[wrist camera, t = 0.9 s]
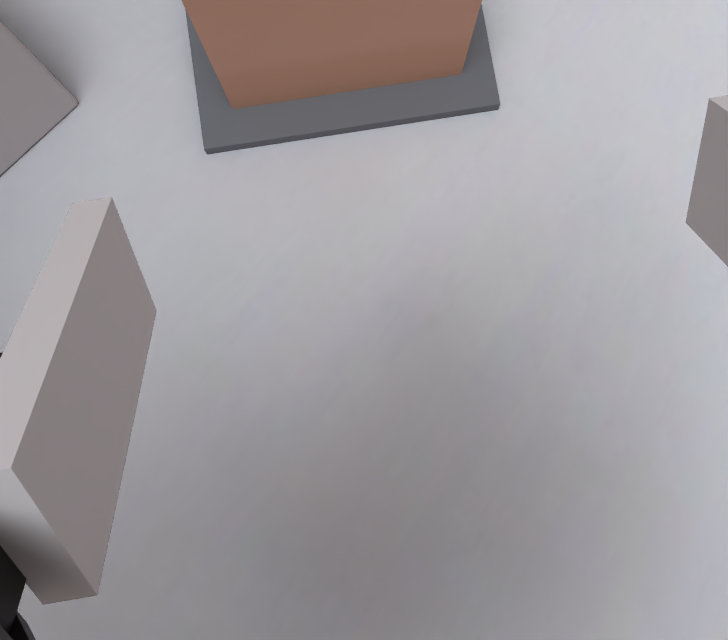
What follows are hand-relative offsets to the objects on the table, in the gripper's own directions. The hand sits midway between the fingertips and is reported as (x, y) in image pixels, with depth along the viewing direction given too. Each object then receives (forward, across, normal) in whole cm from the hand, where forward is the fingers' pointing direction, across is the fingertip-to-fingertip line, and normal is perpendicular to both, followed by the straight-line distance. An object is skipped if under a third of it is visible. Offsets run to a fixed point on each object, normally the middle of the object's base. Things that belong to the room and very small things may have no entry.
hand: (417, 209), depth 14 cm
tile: (+30, 0, -7) cm, 31 cm away
